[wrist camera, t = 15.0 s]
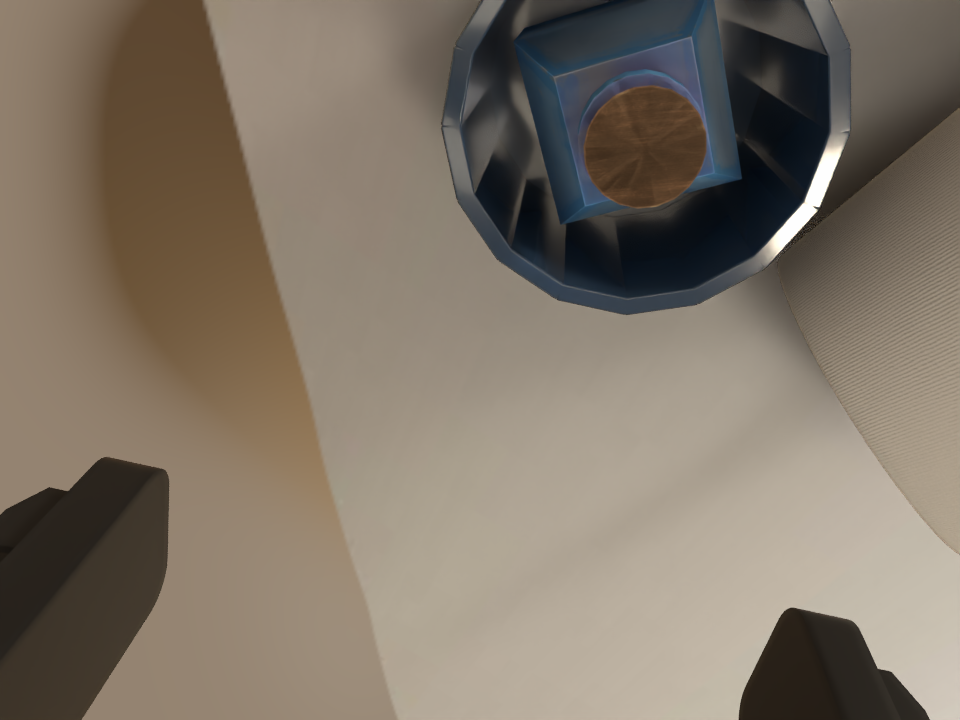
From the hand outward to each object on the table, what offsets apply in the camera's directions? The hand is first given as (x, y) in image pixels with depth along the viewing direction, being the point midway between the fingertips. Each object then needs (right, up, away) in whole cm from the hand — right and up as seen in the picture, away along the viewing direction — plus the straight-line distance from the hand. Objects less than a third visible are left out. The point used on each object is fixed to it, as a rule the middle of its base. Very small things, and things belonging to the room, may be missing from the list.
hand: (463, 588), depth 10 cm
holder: (+6, +14, +22) cm, 27 cm away
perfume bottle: (+6, +14, +21) cm, 26 cm away
